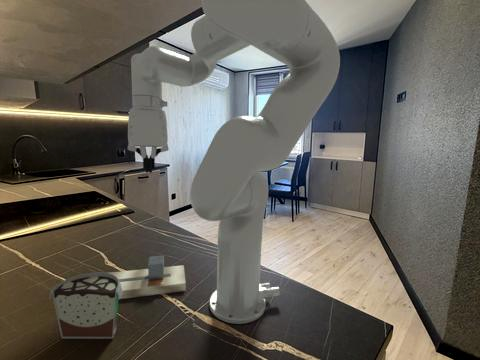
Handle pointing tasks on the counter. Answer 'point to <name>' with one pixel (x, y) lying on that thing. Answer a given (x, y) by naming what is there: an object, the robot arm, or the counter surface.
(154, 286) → the fader console
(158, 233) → the counter surface
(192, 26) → the robot arm
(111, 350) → the counter surface
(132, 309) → the counter surface
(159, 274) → the fader tab
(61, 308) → the food container
